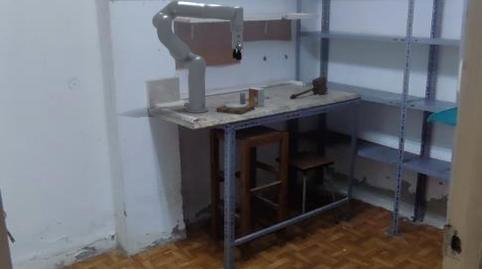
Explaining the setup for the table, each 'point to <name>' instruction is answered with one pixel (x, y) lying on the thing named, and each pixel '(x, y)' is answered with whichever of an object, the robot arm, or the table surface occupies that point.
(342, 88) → the table surface
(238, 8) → the robot arm
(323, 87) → the hammer
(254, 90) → the small box
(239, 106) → the round post pedestal
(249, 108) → the stand base
